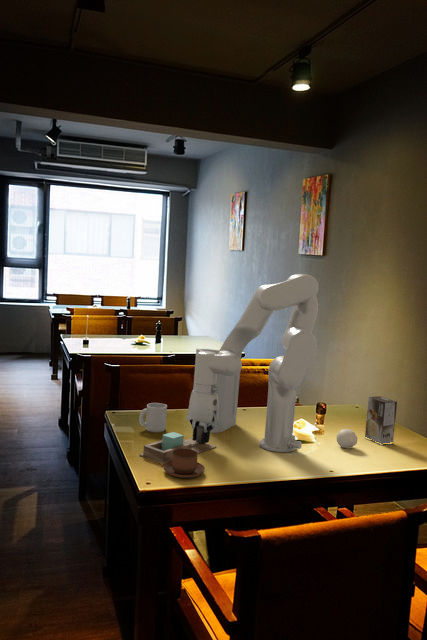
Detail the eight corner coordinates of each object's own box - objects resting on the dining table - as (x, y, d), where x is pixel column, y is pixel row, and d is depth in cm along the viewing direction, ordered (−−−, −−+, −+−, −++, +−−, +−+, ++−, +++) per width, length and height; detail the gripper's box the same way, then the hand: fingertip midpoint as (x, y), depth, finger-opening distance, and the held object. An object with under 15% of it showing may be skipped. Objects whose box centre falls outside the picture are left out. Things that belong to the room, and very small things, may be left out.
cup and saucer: (154, 471, 157) (155, 450, 157) (185, 463, 166) (186, 443, 165) (181, 485, 149) (183, 463, 148) (212, 475, 157) (214, 455, 157)
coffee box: (393, 444, 201) (398, 401, 200) (381, 445, 198) (385, 402, 197) (376, 436, 209) (380, 395, 208) (363, 437, 207) (367, 396, 205)
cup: (168, 431, 196) (169, 407, 195) (141, 433, 191) (142, 408, 191) (161, 426, 202) (163, 402, 201) (135, 427, 198) (137, 403, 197)
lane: (190, 439, 189) (191, 429, 189) (216, 447, 182) (216, 437, 182) (139, 455, 169) (140, 444, 169) (165, 465, 162) (166, 454, 162)
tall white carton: (245, 430, 204) (251, 357, 202) (209, 432, 198) (215, 357, 196) (224, 416, 222) (229, 349, 219) (190, 418, 216) (195, 348, 213)
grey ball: (350, 452, 188) (352, 433, 187) (332, 446, 193) (334, 428, 192) (360, 448, 193) (362, 430, 192) (342, 443, 198) (343, 425, 197)
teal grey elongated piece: (198, 439, 187) (199, 424, 186) (208, 443, 184) (209, 427, 184) (161, 451, 172) (162, 434, 172) (172, 455, 169) (173, 438, 169)
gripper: (230, 391, 181) (226, 445, 182) (193, 382, 190) (189, 433, 192) (217, 394, 175) (213, 450, 176) (178, 384, 185) (175, 437, 186)
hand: (200, 440), depth 184 cm, fingers closed on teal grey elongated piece, 3 cm apart
